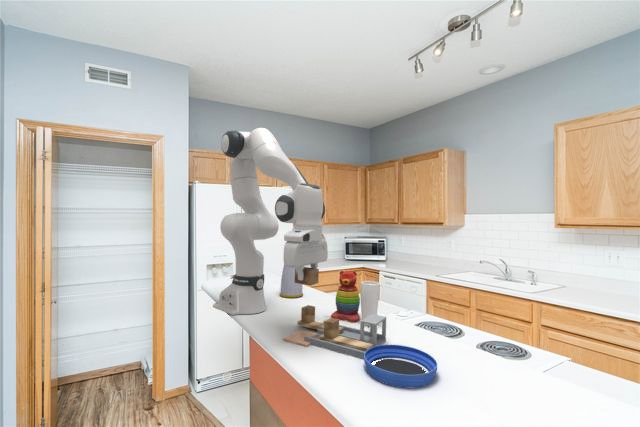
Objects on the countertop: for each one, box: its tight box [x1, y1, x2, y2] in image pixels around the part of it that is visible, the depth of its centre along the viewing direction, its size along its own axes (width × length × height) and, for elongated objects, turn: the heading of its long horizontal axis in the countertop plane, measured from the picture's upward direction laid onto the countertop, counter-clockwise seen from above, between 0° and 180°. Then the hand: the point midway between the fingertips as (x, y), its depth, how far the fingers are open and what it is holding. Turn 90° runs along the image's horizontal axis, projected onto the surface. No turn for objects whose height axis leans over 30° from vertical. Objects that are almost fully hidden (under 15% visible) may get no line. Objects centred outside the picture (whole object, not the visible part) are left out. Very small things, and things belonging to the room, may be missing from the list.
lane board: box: [304, 314, 387, 360], centre depth 102 cm, size 20×16×8 cm
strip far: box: [297, 304, 344, 334], centre depth 111 cm, size 16×4×6 cm, turn 58°
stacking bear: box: [330, 270, 361, 323], centre depth 127 cm, size 11×10×18 cm
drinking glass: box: [359, 280, 380, 327], centre depth 120 cm, size 7×7×15 cm
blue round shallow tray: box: [363, 344, 438, 388], centre depth 84 cm, size 18×18×4 cm
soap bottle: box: [279, 264, 304, 299], centre depth 159 cm, size 11×12×26 cm
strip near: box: [319, 317, 374, 352], centre depth 98 cm, size 16×4×6 cm, turn 58°
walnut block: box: [295, 266, 320, 286], centre depth 104 cm, size 6×4×4 cm
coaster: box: [282, 330, 320, 348], centre depth 103 cm, size 9×9×1 cm
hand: (306, 278), depth 104 cm, fingers closed on walnut block, 4 cm apart
